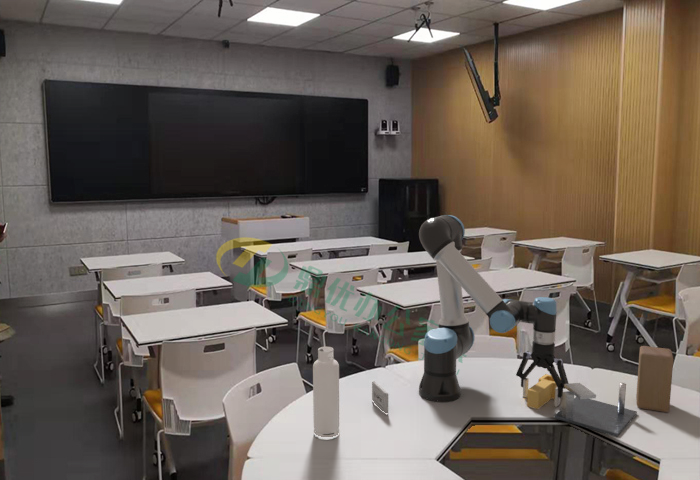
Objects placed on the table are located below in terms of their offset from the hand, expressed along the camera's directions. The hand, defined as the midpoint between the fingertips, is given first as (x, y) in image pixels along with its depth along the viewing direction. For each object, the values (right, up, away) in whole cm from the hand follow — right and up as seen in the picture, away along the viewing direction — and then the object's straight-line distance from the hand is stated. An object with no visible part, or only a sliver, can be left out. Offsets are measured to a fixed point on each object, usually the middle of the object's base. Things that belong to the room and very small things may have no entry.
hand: (540, 400), depth 209 cm
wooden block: (+38, -1, -4) cm, 38 cm away
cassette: (-58, -1, -5) cm, 58 cm away
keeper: (+7, -2, -14) cm, 15 cm away
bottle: (-76, -4, -24) cm, 79 cm away
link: (+1, 0, +2) cm, 2 cm away
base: (+15, -2, -12) cm, 19 cm away
